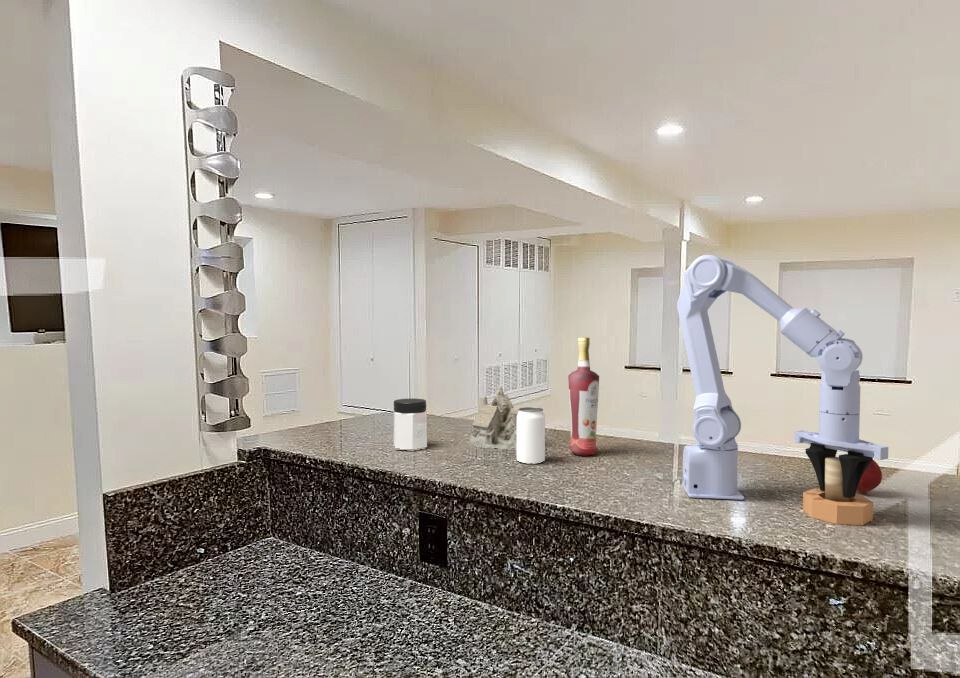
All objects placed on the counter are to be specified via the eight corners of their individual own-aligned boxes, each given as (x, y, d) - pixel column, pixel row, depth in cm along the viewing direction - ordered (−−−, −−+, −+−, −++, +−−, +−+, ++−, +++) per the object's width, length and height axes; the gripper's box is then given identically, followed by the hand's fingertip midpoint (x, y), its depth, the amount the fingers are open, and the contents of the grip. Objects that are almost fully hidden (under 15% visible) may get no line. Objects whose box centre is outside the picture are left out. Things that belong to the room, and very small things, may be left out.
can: (512, 463, 133) (512, 410, 132) (521, 456, 139) (521, 406, 138) (540, 466, 130) (540, 412, 130) (548, 459, 136) (548, 407, 136)
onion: (887, 499, 106) (888, 455, 106) (852, 497, 107) (853, 454, 107) (872, 490, 112) (874, 448, 112) (839, 488, 113) (840, 447, 113)
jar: (405, 453, 142) (405, 404, 142) (386, 448, 148) (385, 400, 147) (434, 447, 148) (434, 400, 148) (414, 442, 154) (414, 397, 154)
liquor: (584, 459, 136) (585, 338, 135) (561, 453, 142) (562, 337, 141) (605, 454, 141) (606, 337, 140) (581, 449, 146) (582, 336, 145)
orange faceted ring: (818, 523, 94) (818, 504, 94) (796, 504, 103) (797, 487, 103) (881, 526, 93) (881, 507, 92) (853, 507, 102) (854, 490, 102)
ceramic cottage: (459, 443, 153) (463, 386, 152) (507, 437, 163) (511, 384, 162) (497, 458, 141) (502, 396, 140) (547, 451, 151) (551, 393, 150)
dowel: (830, 510, 96) (830, 461, 96) (821, 503, 100) (821, 456, 99) (852, 510, 96) (852, 462, 95) (843, 503, 99) (843, 456, 99)
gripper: (900, 417, 92) (898, 502, 93) (813, 404, 105) (811, 479, 106) (873, 420, 89) (871, 508, 90) (787, 407, 102) (785, 484, 103)
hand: (837, 493), depth 98 cm, fingers closed on dowel, 3 cm apart
